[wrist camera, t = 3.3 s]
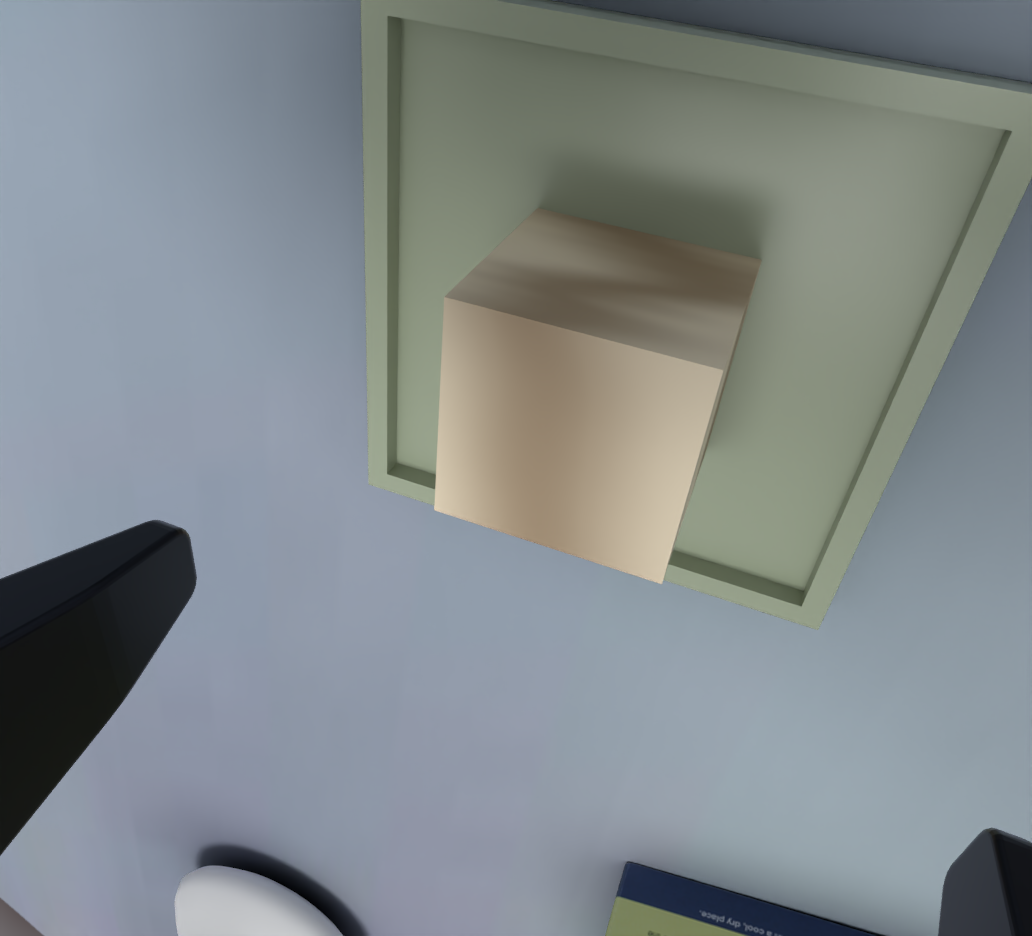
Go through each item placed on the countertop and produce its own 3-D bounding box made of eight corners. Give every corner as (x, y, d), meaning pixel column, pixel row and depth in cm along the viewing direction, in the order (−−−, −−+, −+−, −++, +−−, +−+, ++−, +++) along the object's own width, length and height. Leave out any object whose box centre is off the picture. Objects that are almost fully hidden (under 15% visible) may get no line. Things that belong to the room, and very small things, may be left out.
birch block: (762, 259, 18) (723, 370, 14) (706, 450, 21) (661, 584, 17) (537, 208, 19) (444, 297, 15) (516, 396, 22) (434, 510, 18)
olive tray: (1059, 87, 14) (1067, 100, 14) (820, 604, 22) (817, 630, 22) (383, -29, 17) (360, -24, 17) (384, 465, 25) (368, 484, 25)
